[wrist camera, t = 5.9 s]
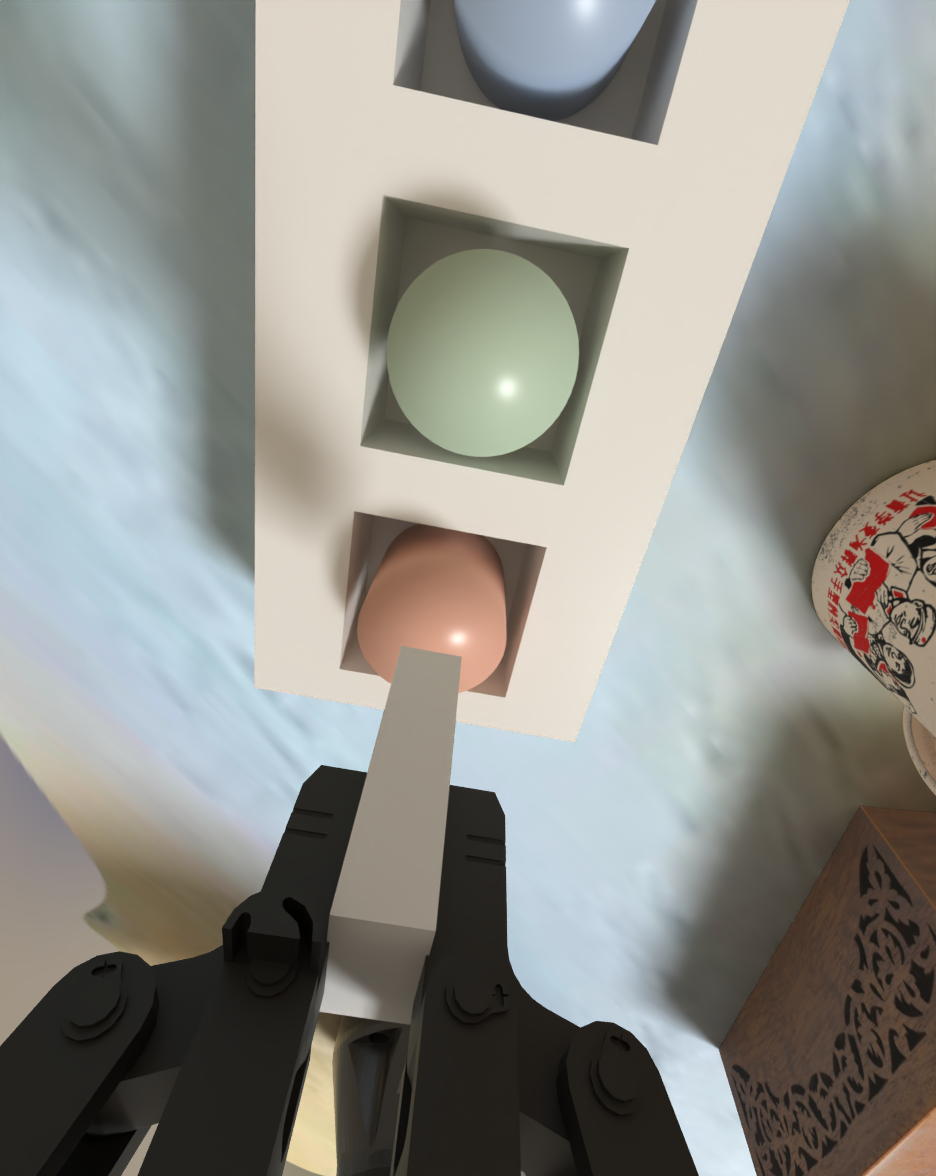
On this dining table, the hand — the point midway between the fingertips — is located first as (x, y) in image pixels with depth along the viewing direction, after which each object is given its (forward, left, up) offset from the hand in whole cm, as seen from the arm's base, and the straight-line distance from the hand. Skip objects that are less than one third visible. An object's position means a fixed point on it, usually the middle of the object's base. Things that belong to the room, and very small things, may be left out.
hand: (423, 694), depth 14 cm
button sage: (+8, 0, -7) cm, 11 cm away
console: (+8, 0, -10) cm, 12 cm away
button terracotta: (0, 0, -7) cm, 7 cm away
